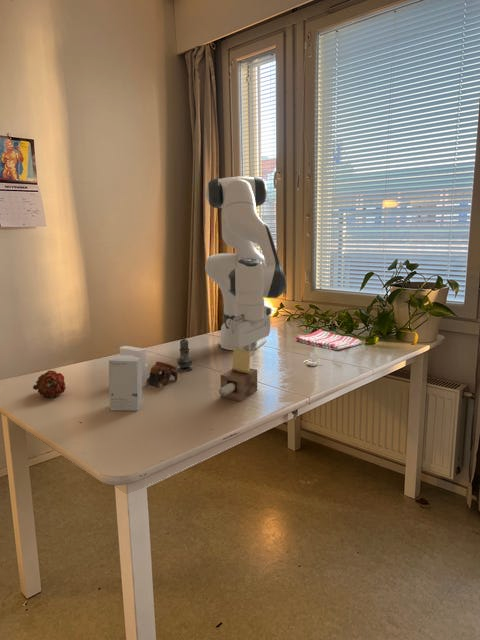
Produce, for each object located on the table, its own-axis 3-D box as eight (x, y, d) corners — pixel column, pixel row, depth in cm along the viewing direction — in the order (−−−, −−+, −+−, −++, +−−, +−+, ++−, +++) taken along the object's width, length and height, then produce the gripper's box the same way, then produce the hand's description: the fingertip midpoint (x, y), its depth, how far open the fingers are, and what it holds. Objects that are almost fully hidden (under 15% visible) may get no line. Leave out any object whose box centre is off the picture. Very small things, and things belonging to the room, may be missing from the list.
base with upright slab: (154, 381, 156) (152, 346, 154) (135, 390, 149) (133, 353, 146) (133, 377, 161) (131, 343, 158) (114, 385, 153) (112, 349, 151)
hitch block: (238, 387, 151) (237, 366, 149) (257, 391, 147) (257, 369, 146) (220, 397, 142) (220, 375, 141) (240, 401, 139) (240, 378, 137)
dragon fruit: (56, 407, 139) (45, 401, 149) (77, 385, 143) (64, 381, 153) (35, 388, 136) (25, 383, 145) (57, 366, 139) (46, 363, 149)
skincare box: (109, 411, 132) (106, 360, 129) (115, 403, 138) (112, 354, 135) (139, 411, 132) (136, 360, 129) (143, 403, 138) (141, 354, 135)
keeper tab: (231, 371, 144) (233, 370, 145) (247, 374, 141) (249, 373, 142) (233, 348, 143) (235, 348, 144) (249, 351, 141) (251, 351, 141)
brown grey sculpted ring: (141, 383, 156) (149, 360, 158) (167, 392, 160) (174, 368, 162) (152, 385, 145) (161, 359, 147) (180, 394, 149) (188, 369, 151)
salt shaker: (190, 372, 165) (189, 339, 163) (174, 371, 167) (173, 338, 164) (195, 367, 171) (194, 335, 169) (179, 366, 172) (178, 334, 170)
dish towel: (319, 335, 218) (319, 328, 218) (362, 345, 201) (362, 337, 201) (294, 342, 207) (294, 334, 206) (338, 352, 190) (338, 344, 190)
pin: (245, 381, 150) (245, 369, 149) (256, 383, 148) (256, 371, 147) (217, 397, 137) (216, 384, 136) (228, 399, 135) (228, 386, 134)
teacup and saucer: (313, 369, 170) (314, 358, 169) (297, 363, 176) (297, 353, 175) (329, 364, 175) (330, 353, 174) (313, 359, 181) (313, 349, 180)
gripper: (241, 319, 133) (241, 366, 136) (274, 308, 151) (273, 349, 153) (222, 317, 137) (223, 363, 139) (256, 306, 154) (256, 347, 157)
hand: (250, 356), depth 147 cm, fingers closed
